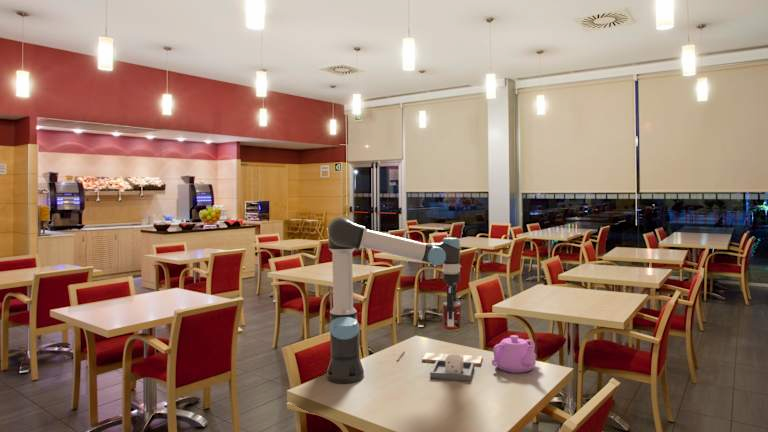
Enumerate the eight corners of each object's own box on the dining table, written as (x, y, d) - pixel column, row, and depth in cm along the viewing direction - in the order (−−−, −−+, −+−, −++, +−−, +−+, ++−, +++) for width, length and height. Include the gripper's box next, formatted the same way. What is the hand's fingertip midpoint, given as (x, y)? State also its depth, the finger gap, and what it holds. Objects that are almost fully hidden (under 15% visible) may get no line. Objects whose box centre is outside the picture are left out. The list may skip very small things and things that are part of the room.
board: (396, 361, 229) (396, 358, 229) (402, 352, 241) (402, 349, 241) (480, 367, 220) (480, 364, 220) (482, 357, 232) (482, 355, 232)
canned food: (443, 329, 225) (442, 304, 224) (443, 325, 233) (443, 300, 232) (460, 330, 224) (460, 305, 223) (461, 325, 232) (460, 301, 231)
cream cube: (445, 358, 211) (460, 360, 208) (449, 354, 216) (463, 356, 214) (445, 373, 211) (459, 375, 208) (449, 368, 216) (463, 370, 214)
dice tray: (430, 378, 207) (430, 372, 207) (436, 365, 223) (436, 359, 223) (470, 381, 203) (470, 375, 203) (474, 368, 219) (473, 362, 219)
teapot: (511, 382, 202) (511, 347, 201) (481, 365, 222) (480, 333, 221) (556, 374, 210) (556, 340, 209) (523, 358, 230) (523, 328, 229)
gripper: (457, 276, 216) (457, 330, 217) (462, 269, 236) (463, 318, 237) (439, 276, 218) (440, 329, 219) (446, 269, 238) (447, 317, 239)
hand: (452, 323), depth 228 cm, fingers closed on canned food, 8 cm apart
